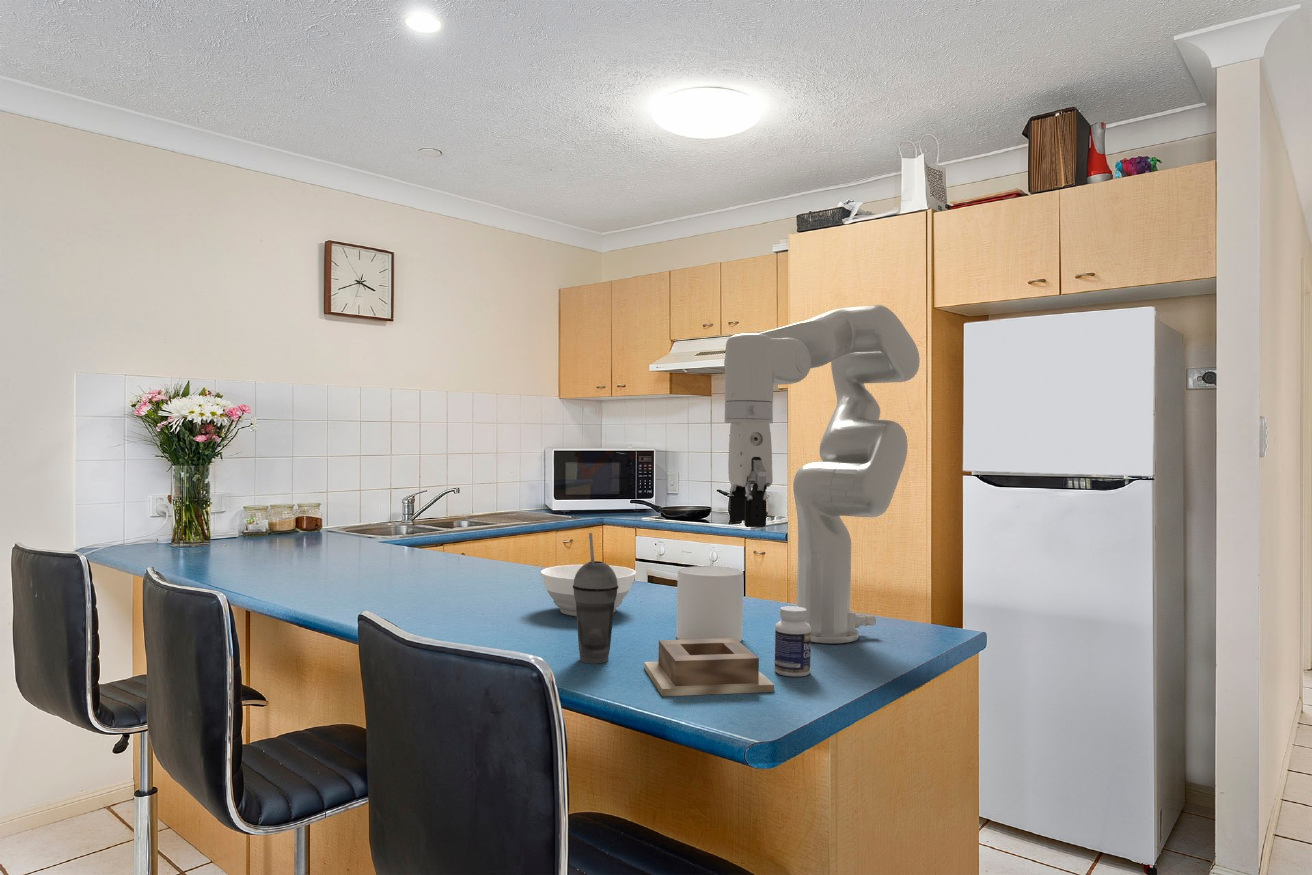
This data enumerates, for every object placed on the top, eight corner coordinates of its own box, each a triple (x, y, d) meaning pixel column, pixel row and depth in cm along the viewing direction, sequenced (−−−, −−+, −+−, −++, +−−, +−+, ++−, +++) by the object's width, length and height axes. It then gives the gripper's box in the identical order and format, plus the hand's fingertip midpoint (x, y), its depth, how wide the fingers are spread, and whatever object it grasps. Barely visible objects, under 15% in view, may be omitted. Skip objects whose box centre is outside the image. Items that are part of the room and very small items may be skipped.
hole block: (744, 664, 129) (745, 636, 129) (774, 691, 115) (774, 659, 115) (644, 668, 126) (644, 638, 126) (662, 696, 112) (662, 663, 112)
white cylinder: (685, 647, 139) (686, 576, 139) (670, 631, 151) (671, 566, 151) (751, 645, 142) (752, 575, 142) (731, 629, 153) (732, 565, 153)
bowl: (633, 623, 157) (634, 580, 157) (532, 621, 157) (533, 578, 158) (637, 603, 177) (638, 565, 177) (547, 601, 177) (547, 563, 177)
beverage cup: (599, 668, 125) (601, 537, 125) (561, 660, 129) (564, 533, 129) (626, 658, 131) (628, 533, 131) (589, 651, 135) (591, 530, 135)
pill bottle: (810, 678, 122) (811, 612, 122) (773, 676, 123) (774, 610, 123) (810, 669, 127) (811, 605, 127) (775, 666, 128) (776, 604, 128)
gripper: (788, 412, 120) (786, 529, 120) (757, 416, 137) (756, 518, 137) (738, 411, 119) (736, 529, 119) (713, 415, 136) (712, 518, 136)
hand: (747, 523), depth 128 cm, fingers open, 9 cm apart
